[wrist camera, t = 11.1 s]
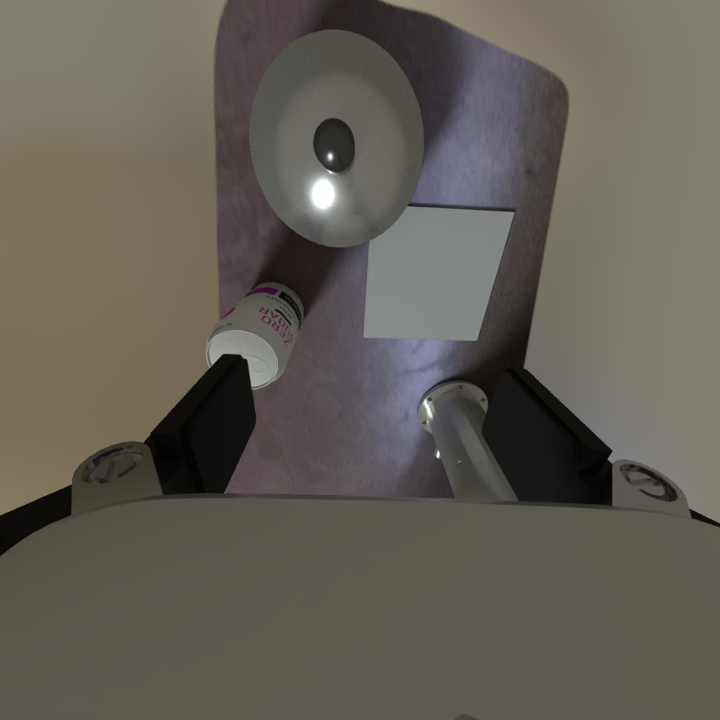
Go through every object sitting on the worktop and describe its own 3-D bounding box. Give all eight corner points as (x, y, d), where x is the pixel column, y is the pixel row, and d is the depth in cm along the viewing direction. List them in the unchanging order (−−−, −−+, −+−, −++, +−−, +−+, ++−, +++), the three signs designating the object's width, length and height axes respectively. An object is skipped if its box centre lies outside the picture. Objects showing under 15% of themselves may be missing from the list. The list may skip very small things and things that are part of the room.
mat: (475, 339, 44) (476, 340, 44) (363, 336, 43) (363, 337, 43) (513, 212, 35) (514, 212, 35) (371, 204, 34) (371, 204, 34)
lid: (410, 249, 31) (421, 258, 26) (264, 242, 30) (245, 250, 25) (435, 43, 23) (459, -5, 18) (239, 29, 22) (204, -24, 17)
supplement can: (241, 321, 41) (192, 378, 29) (256, 270, 38) (208, 309, 25) (293, 342, 43) (270, 404, 31) (312, 295, 40) (295, 343, 27)
